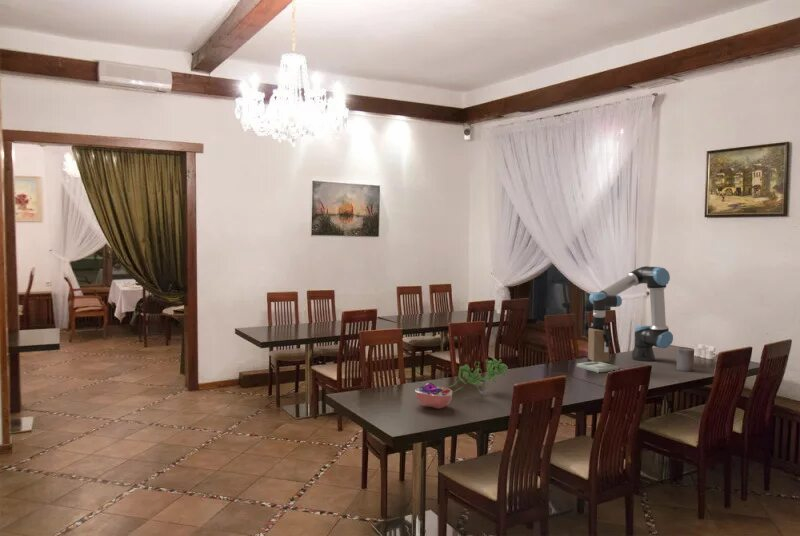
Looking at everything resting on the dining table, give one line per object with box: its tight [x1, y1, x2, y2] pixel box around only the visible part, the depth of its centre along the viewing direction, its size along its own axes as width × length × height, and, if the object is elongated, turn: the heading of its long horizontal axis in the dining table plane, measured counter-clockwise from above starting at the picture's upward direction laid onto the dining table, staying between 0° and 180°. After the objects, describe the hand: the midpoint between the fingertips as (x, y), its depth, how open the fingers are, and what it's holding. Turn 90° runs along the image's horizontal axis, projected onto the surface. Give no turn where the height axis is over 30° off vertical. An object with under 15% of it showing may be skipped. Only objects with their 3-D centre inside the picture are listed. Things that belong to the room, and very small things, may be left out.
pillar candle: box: [676, 346, 695, 372], centre depth 371 cm, size 10×10×15 cm
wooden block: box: [587, 327, 611, 363], centre depth 372 cm, size 10×10×20 cm
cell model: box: [414, 382, 454, 410], centre depth 283 cm, size 17×20×11 cm
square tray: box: [576, 361, 620, 374], centre depth 373 cm, size 18×18×2 cm
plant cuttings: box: [448, 358, 509, 397], centre depth 309 cm, size 35×17×22 cm
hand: (598, 350), depth 372 cm, fingers closed on wooden block, 12 cm apart
